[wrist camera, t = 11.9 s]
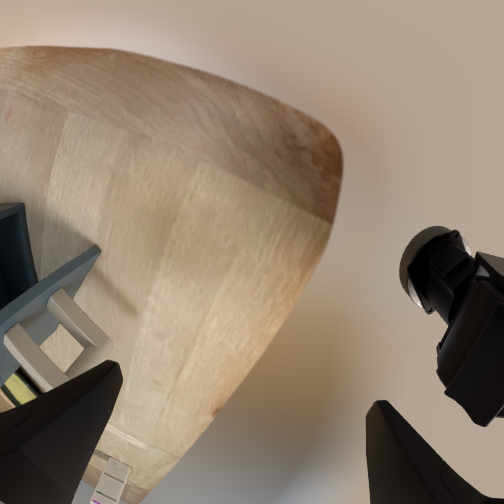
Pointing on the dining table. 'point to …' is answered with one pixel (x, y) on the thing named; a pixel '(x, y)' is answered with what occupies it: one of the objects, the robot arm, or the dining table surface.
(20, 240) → the cabinet
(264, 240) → the dining table surface
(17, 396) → the plate
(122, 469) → the syrup box
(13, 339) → the cabinet door
